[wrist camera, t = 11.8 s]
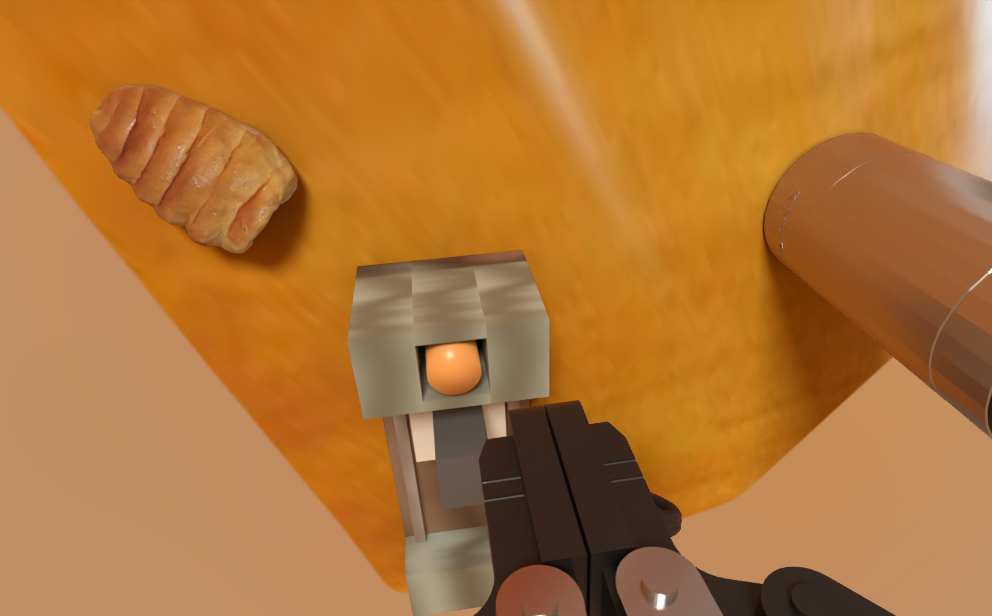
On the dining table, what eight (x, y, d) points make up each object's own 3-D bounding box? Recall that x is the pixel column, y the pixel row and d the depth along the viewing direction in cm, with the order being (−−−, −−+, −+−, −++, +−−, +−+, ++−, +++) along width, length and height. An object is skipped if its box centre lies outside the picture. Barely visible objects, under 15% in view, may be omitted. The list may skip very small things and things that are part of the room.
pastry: (81, 151, 31) (44, 175, 27) (142, 42, 29) (109, 53, 25) (250, 251, 35) (235, 282, 31) (314, 161, 33) (305, 185, 29)
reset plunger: (468, 289, 35) (479, 348, 30) (471, 329, 36) (483, 391, 31) (420, 294, 35) (423, 354, 30) (425, 334, 36) (429, 398, 31)
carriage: (499, 359, 38) (516, 436, 32) (502, 429, 41) (519, 510, 35) (405, 370, 38) (405, 450, 32) (415, 440, 41) (418, 524, 35)
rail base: (522, 250, 37) (549, 319, 30) (529, 543, 51) (548, 634, 45) (357, 266, 36) (347, 341, 29) (412, 560, 50) (414, 656, 44)
